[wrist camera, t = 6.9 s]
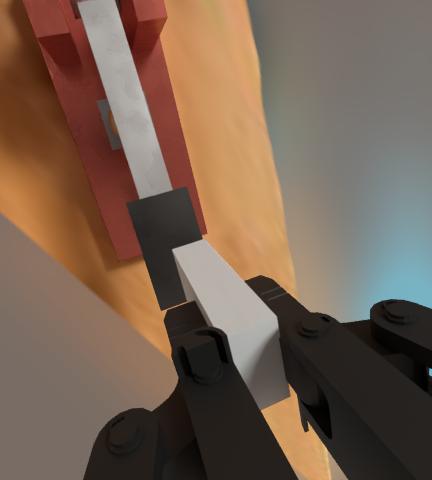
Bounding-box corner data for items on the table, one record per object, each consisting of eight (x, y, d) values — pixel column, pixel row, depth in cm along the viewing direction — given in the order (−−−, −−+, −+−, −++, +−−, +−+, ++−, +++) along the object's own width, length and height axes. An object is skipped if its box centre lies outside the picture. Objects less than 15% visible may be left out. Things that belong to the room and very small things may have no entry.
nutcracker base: (20, -14, 26) (-31, -99, 17) (138, -29, 28) (151, -111, 19) (118, 255, 35) (120, 295, 26) (202, 229, 37) (232, 257, 28)
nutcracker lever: (57, -8, 21) (47, -36, 19) (120, -16, 22) (118, -44, 20) (158, 302, 25) (161, 311, 22) (210, 283, 26) (218, 290, 23)
